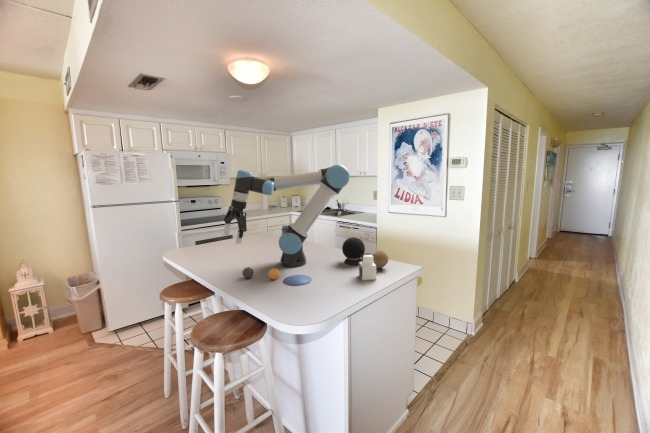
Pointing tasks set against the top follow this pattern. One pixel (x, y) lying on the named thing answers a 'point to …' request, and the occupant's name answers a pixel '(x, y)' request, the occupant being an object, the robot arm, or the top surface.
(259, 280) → the top surface
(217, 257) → the top surface
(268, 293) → the top surface
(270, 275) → the object ball
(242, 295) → the top surface
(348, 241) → the black sphere on pedestal
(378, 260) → the tan sphere on base
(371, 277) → the medicine bottle
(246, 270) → the dark gray ball
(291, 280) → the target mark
